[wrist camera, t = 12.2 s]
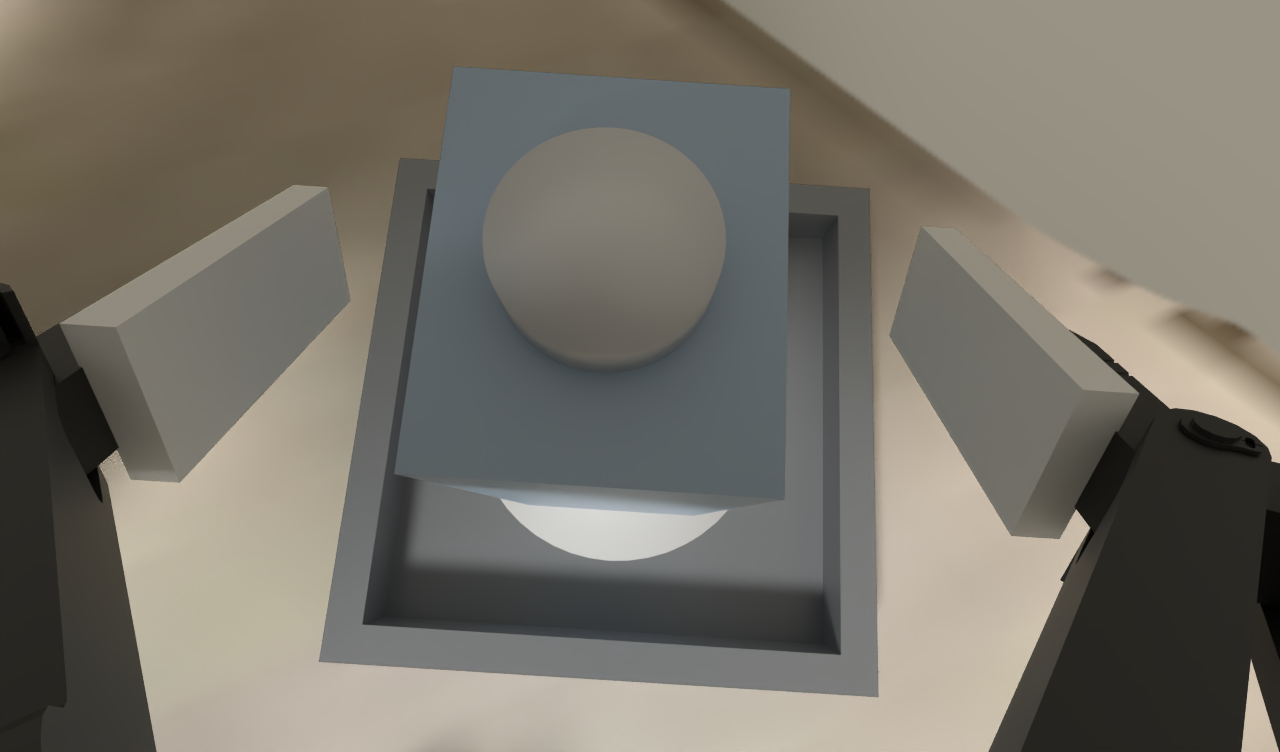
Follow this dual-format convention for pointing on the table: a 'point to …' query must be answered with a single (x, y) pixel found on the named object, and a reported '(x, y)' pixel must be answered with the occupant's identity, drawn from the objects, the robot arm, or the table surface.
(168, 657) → the table surface
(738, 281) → the block
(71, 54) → the table surface
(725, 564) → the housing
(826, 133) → the table surface
